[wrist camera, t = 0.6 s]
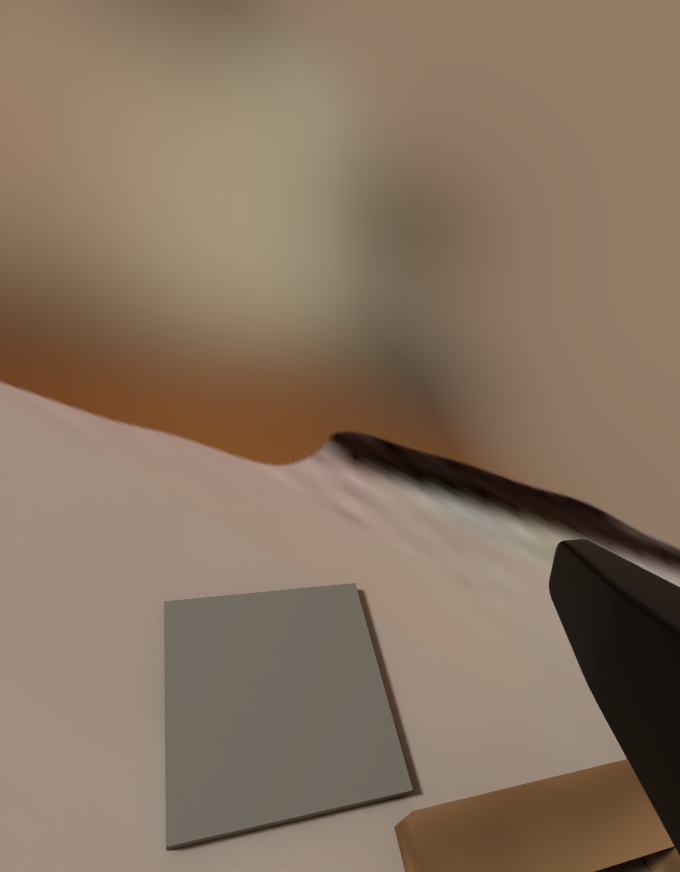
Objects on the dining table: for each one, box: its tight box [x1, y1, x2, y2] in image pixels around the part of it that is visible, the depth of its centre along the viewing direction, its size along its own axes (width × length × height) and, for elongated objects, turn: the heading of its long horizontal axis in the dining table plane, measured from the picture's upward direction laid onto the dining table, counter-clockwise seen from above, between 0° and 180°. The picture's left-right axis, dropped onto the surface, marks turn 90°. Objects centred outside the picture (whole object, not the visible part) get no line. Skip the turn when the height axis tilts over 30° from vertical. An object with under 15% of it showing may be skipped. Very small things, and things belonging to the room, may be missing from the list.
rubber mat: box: [164, 583, 413, 850], centre depth 25 cm, size 10×10×1 cm
